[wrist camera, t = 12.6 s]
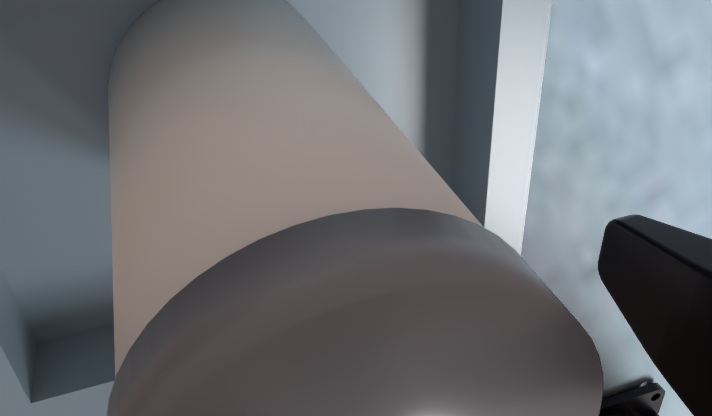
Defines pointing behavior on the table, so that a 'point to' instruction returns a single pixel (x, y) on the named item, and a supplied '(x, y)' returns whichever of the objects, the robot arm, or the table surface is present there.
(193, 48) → the shaker
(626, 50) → the table surface
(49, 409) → the tray
